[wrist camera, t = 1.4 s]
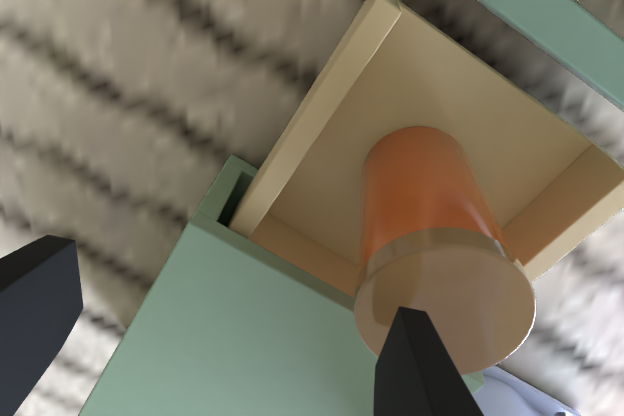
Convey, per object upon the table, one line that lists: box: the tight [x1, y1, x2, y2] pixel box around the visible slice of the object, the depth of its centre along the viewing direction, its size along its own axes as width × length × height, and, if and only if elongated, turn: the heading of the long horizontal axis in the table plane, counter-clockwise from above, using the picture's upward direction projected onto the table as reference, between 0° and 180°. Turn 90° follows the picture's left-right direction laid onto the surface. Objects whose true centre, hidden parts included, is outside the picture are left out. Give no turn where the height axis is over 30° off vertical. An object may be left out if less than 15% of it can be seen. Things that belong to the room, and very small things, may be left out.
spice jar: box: [354, 126, 537, 376], centre depth 14 cm, size 4×4×8 cm
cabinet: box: [78, 154, 485, 416], centre depth 22 cm, size 14×13×6 cm
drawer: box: [227, 0, 624, 298], centre depth 15 cm, size 17×11×4 cm
